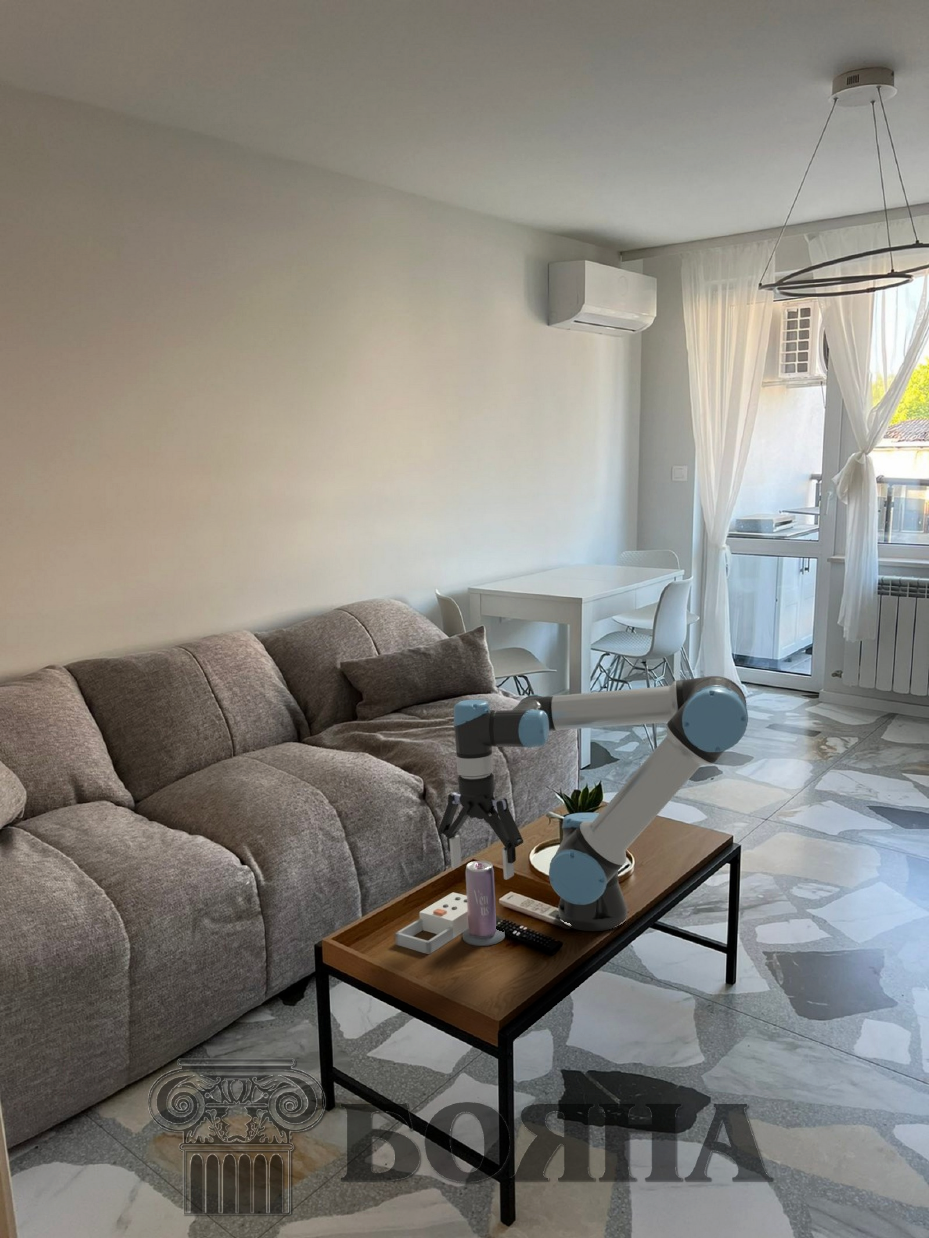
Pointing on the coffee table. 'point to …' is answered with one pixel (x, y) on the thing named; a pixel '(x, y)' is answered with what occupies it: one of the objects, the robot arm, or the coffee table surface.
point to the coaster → (485, 941)
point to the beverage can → (481, 899)
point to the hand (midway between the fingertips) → (482, 871)
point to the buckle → (436, 924)
